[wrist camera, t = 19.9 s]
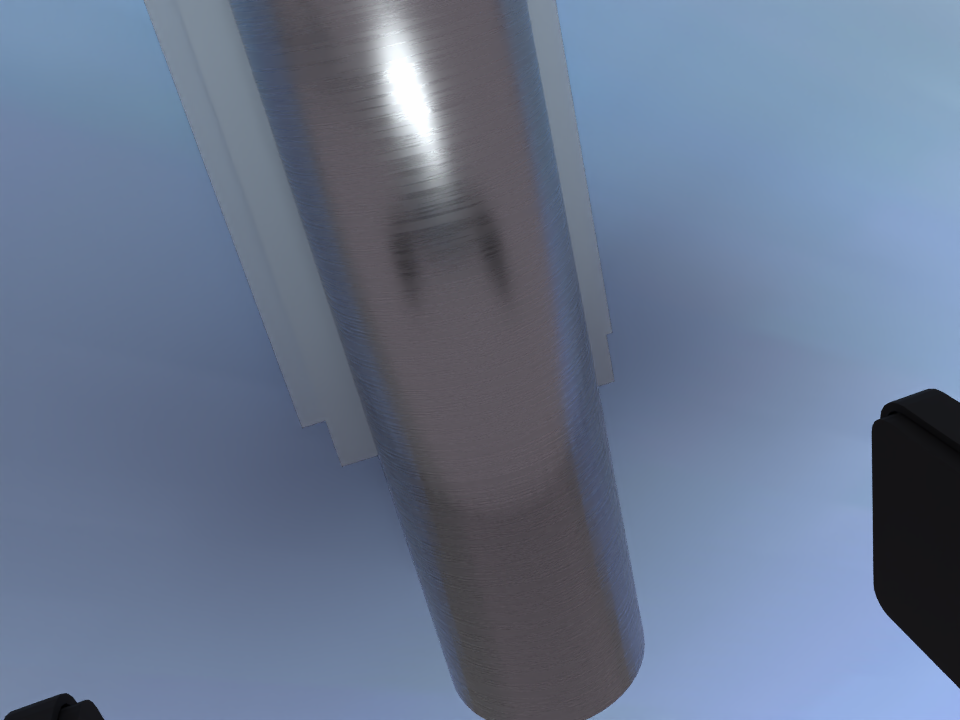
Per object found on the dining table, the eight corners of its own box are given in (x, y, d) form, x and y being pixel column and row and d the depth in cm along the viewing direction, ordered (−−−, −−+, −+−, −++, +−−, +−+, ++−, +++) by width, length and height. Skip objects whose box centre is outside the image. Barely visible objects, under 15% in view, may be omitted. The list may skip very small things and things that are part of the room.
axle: (573, 553, 21) (686, 657, 17) (419, 639, 19) (510, 769, 16) (308, -641, 11) (440, -907, 8) (-17, -633, 10) (-16, -948, 7)
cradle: (603, 322, 20) (647, 371, 18) (301, 414, 19) (306, 477, 17) (514, -185, 16) (558, -207, 13) (116, -88, 15) (90, -94, 13)
